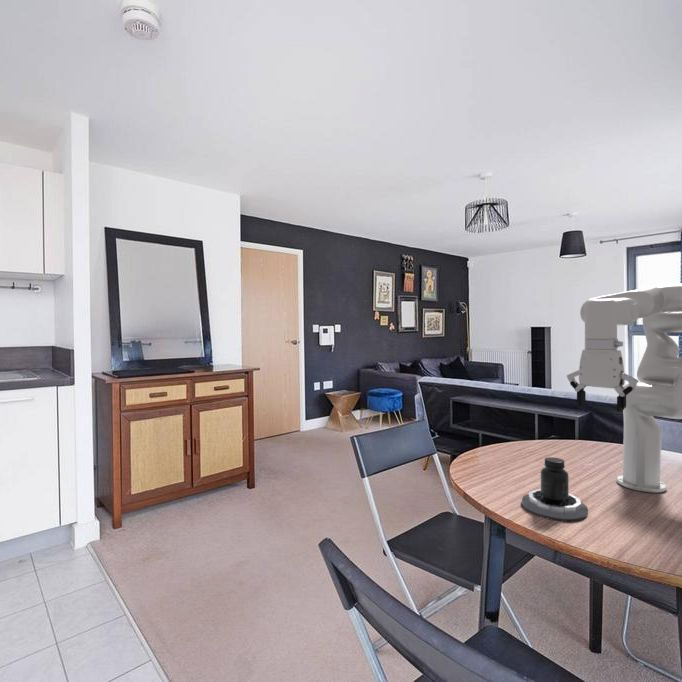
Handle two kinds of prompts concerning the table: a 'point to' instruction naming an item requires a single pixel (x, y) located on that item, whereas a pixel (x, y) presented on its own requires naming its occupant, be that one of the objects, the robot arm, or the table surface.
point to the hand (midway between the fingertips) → (600, 407)
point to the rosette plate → (554, 515)
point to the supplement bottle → (554, 482)
